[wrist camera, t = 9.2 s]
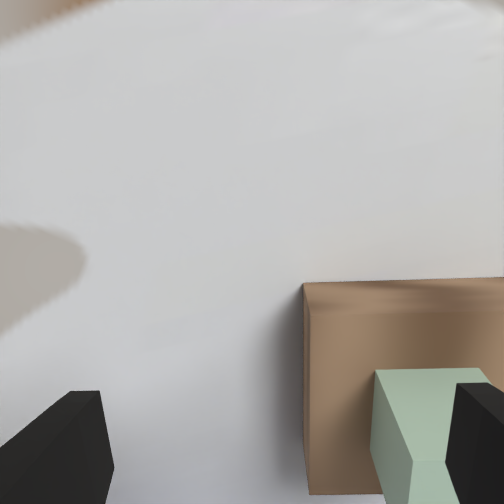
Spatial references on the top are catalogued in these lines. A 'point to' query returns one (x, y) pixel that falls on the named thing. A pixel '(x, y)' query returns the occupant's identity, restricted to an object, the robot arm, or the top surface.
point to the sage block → (415, 432)
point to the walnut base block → (384, 359)
